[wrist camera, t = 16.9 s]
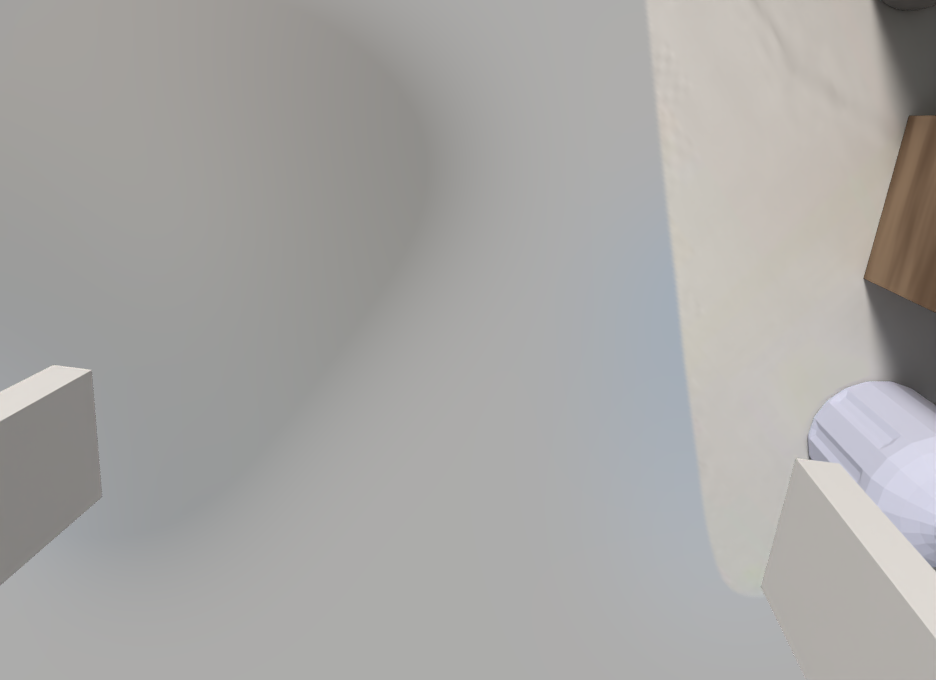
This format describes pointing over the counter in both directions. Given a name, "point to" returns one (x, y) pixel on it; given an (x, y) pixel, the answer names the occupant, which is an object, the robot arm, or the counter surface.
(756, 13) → the counter surface
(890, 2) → the bottle
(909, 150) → the wooden block tower
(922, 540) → the soap bottle
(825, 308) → the counter surface
